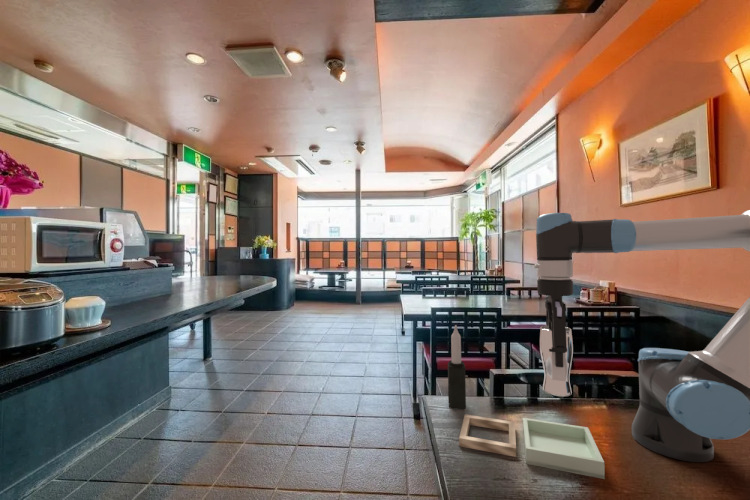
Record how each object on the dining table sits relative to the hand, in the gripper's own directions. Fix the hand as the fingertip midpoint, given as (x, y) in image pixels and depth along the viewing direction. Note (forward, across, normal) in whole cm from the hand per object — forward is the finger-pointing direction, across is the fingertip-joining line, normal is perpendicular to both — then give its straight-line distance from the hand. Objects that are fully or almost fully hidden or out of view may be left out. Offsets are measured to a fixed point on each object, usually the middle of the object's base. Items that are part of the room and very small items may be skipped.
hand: (556, 374), depth 80 cm
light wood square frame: (+18, -1, -16) cm, 24 cm away
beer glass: (+4, 0, 0) cm, 4 cm away
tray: (+18, 0, 0) cm, 18 cm away
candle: (+19, -17, -26) cm, 36 cm away
